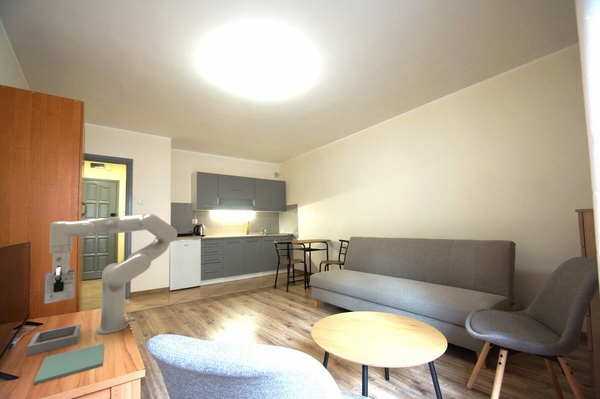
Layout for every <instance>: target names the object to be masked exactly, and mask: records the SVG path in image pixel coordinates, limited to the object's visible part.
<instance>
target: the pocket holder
mask: <svg viewBox="0 0 600 399" xmlns="http://www.w3.org/2000/svg"><path fill="white" fill-rule="evenodd" d="M81 326H82V325H81V323H78V324H73V325H68V326H63V327H59V328H54V329H48V330H43V331H39V332H35V334H34V335H33V337H32V338H31V340H30V342H29V344H28V345H27V347H26V348H27V349H26V351H27V353H26V356H32V355H36V354H39V353H43V352H48V351H53V350H54V351H55V350H58V349H62V348H66V347H69V346H70V347H71V346H74V345H77V344H78V341H79V338H80V334H81ZM50 339H51V340H50ZM45 340H46V341H45ZM41 341H42V342H41Z"/></svg>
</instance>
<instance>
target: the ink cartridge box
mask: <svg viewBox="0 0 600 399" xmlns="http://www.w3.org/2000/svg"><path fill="white" fill-rule="evenodd" d="M54 274H55V273H54ZM60 275H62V274H60ZM61 277H62V276H61ZM54 278H55V275H54V276H53V275H52V272H50V273H49V272H48V273H44V285H43V287H44V289H43V292H44V293H43V295H44V296H43V297H44V298H43V304H44V305H45V304H50V303H52V304H53V303H56V302H62V301H65V300H70V299H71V300H72V299H74V298H75V288H76V285H75V282H76V271H75V270H74V269H70V270H69V272H68V274H67V275H65V274H64V276H63V282H64V290H63V291H60V292H53V290H54Z"/></svg>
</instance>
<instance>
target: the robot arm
mask: <svg viewBox="0 0 600 399" xmlns="http://www.w3.org/2000/svg"><path fill="white" fill-rule="evenodd" d="M137 231H148V232H149V233H150V234H151V235H153V236H155V238H154V240H153V241H152V242H150V243H149V244H147V245H146V246H144V247H142V248H140V249H137V251H134V252H132V253H130V254H129V255H128V256H127V258H126V260H124V261H123V262H121V263H119V262H118V263H117V262H113V263H110V264H108V265H107V266H105V267H104V268H103V271H102V273H101V307H100V308H101V309H100V326H98V327H97V328H96V330H95V332H96V334H99V335H108V334H109V335H110V334H114V333H117V332H120V331H123V330H124V329H126V328H128V326H129V323H130V322H135V321H136V316H128V317H127V316H126V314H125V312H126V311H125V310H126V291H127V290H126V288H127V287H126V286H127V285H126V284H127V283H128V282H130V281H132V280H133V279H135V278H137V277H138V276H140V275H141V274H143V273H145V272H146V271H148V269H149V268H150V267H151V265H152V261H154V260H156V259H158V258H159V257H161V256H162V255H163V254H165V252H166V251H167V250H168V248H169V247H170V243H173V242H174V241H175V240H177V237H178V231H177V229H176V228H175V227H174V226H172V225H171V224H169V223H167V222H166V221H165V220H163V219H162V218H160V217H159V216H157V215H156V214H153V213H142V214H130V215H119V216H118V215H117V216H113V217H105V218H94V219H82V220H79V221H78V220H77V221H68V220H67V221H66V220H65V221H62V220H61V221H53V222H51V223H50V228H49V254H51V255H52V267H51V269H52V270H51V271H52V272H51V273H52V275H53V276H54V275H55V278H54V290H53V292H60V291H63V290H64V282H63V276H64V274H65V275H67V274H68V272H69V270H71V260H70V259H71V257H70V256H71V254H70V253H71V252H73V245H74V244H73V240H74V237H79V238H80V237H81V238H85V237H88V236H91V235H97V234H98V235H99V234H108V233H110V234H122V233H123V234H124V233H131V232H132V233H133V232H137ZM54 273H55V274H54ZM60 274H62V275H60ZM61 276H62V277H61Z"/></svg>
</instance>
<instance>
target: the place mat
mask: <svg viewBox="0 0 600 399" xmlns="http://www.w3.org/2000/svg"><path fill="white" fill-rule="evenodd" d="M104 348H105V343H99V344H95V345H91V346H87V347H82V348H79V349H74V350H70V351H65V352H62V353H57V354H54V355H53V354H52V355H49V356H46V357H44V359H43V361H42V364H41V366H40V368H39V370H38V373H37V374H36V376H35V378H34V380H33V386H35V385H38V384H43V383H46V382H49V381H48V380H50V381H53V380H56V378H57V379H61V378H63V376H64V377H67V376H70V374H71V375H74V374H73V373H75V374H77V373H76V372H78V373H81V372H80V371H82V372H85V371H89V370H92V369H96V368H99V367H102V366H103V363H104ZM84 370H85V371H84ZM66 375H67V376H66ZM52 379H53V380H52ZM45 381H46V382H45Z"/></svg>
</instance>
